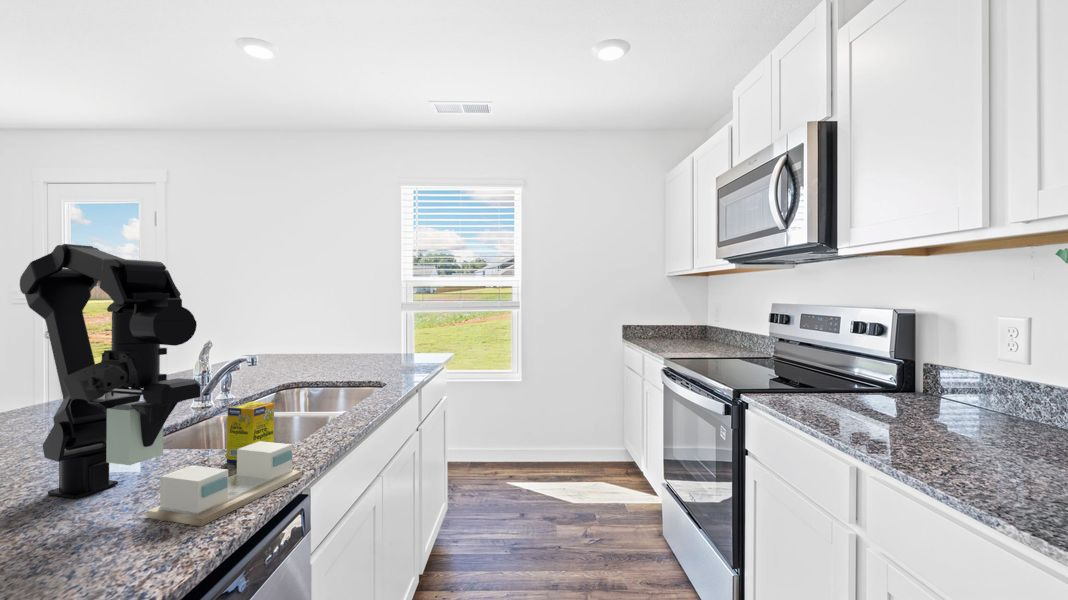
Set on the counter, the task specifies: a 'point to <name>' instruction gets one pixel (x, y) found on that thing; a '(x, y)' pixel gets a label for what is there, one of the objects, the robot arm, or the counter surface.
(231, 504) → the mounting panel
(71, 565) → the counter surface
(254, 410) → the supplement box
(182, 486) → the mounted modules
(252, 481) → the grey flat piece
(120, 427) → the loose module
